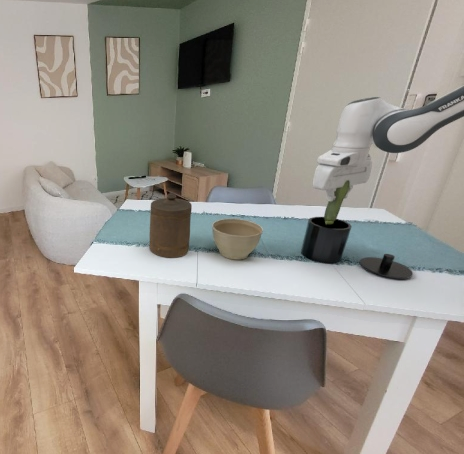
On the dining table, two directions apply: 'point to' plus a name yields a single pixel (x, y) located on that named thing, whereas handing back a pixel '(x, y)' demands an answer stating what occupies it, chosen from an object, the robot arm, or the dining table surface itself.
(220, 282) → the dining table surface
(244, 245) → the planter bowl
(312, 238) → the trash can
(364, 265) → the bin lid
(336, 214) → the vegetable
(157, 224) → the wooden container
